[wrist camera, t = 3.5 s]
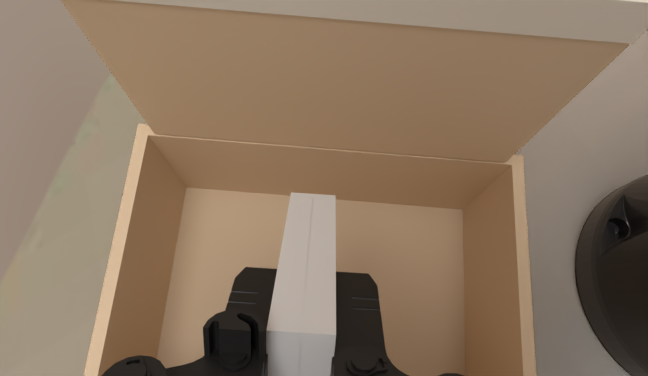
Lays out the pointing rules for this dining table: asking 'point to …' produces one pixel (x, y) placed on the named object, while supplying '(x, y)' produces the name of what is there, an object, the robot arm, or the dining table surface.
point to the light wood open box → (351, 248)
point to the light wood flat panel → (359, 68)
